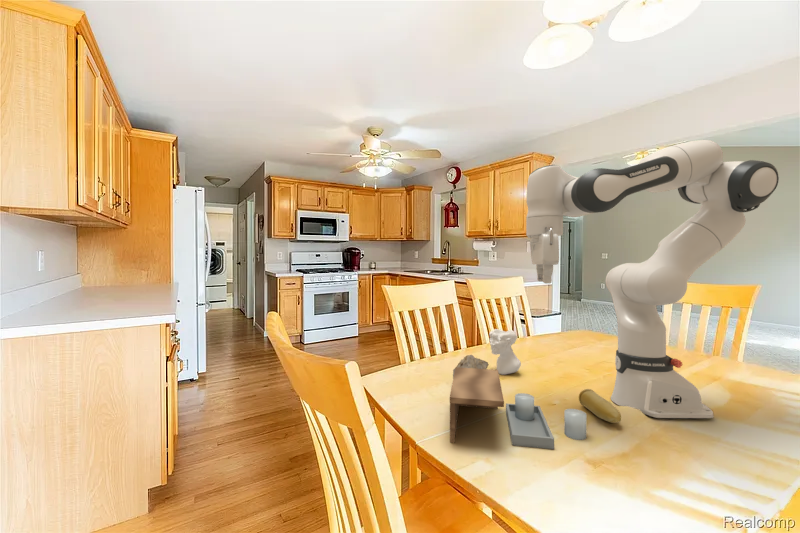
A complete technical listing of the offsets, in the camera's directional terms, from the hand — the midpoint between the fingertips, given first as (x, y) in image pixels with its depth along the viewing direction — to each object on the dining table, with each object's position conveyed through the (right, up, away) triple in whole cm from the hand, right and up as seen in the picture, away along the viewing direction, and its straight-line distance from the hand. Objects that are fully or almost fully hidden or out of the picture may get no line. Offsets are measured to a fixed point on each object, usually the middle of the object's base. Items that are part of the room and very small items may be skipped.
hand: (544, 282), depth 94 cm
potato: (+12, -34, -5) cm, 36 cm away
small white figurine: (-2, -33, +29) cm, 44 cm away
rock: (-16, -33, +15) cm, 40 cm away
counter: (-19, -33, -8) cm, 39 cm away
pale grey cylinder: (-7, -33, -6) cm, 34 cm away
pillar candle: (+1, -33, -14) cm, 36 cm away
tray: (-8, -33, -11) cm, 36 cm away
